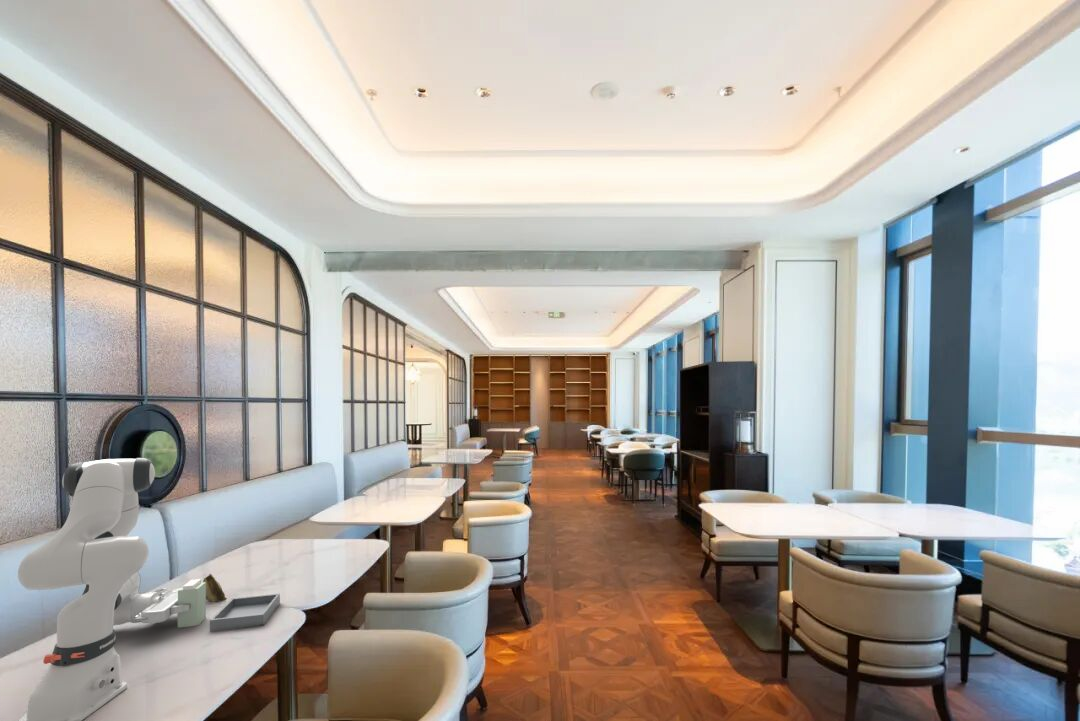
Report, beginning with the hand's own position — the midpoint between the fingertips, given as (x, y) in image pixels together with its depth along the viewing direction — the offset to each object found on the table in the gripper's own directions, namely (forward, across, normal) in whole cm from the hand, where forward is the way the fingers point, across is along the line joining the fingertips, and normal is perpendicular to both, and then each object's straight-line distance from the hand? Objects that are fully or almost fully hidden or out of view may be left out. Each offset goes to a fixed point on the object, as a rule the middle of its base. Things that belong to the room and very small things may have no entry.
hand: (195, 602), depth 175 cm
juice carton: (-1, 0, +6) cm, 7 cm away
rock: (-3, +22, +7) cm, 23 cm away
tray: (+16, 0, +6) cm, 17 cm away
